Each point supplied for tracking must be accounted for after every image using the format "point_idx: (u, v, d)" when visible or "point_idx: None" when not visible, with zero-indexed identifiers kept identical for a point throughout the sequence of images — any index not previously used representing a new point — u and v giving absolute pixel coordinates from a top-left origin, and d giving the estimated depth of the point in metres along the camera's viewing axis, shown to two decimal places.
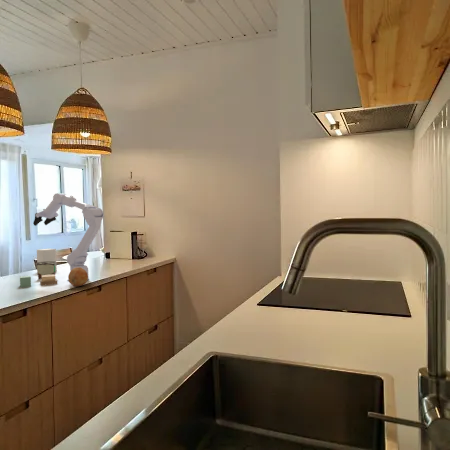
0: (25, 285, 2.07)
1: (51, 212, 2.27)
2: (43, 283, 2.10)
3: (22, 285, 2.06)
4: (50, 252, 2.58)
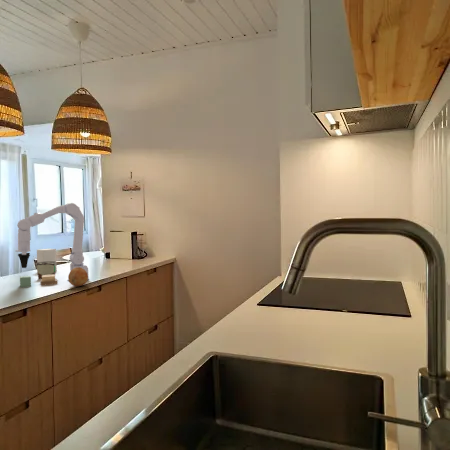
0: (25, 285, 2.07)
1: (28, 242, 2.09)
2: (43, 283, 2.10)
3: (22, 285, 2.06)
4: (50, 252, 2.58)
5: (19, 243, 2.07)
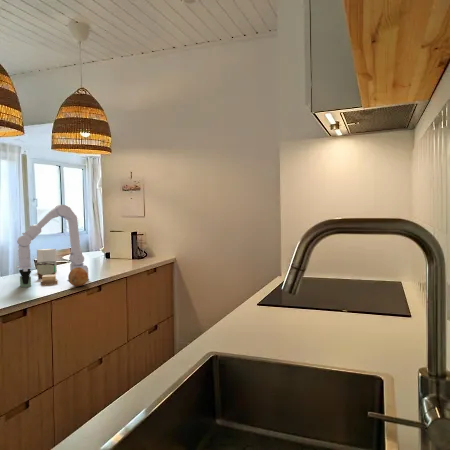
0: (25, 285, 2.07)
1: (29, 258, 2.09)
2: (43, 283, 2.10)
3: (22, 285, 2.06)
4: (50, 252, 2.58)
5: (20, 260, 2.06)
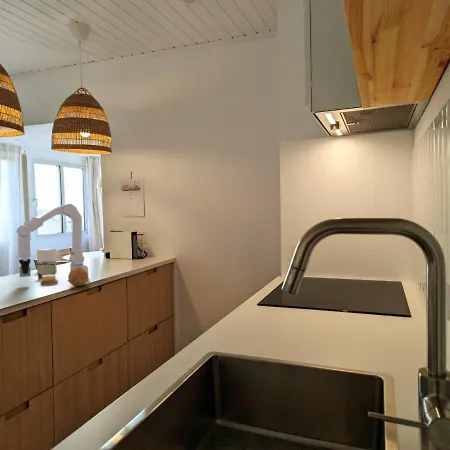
0: (25, 275, 2.07)
1: (29, 248, 2.08)
2: (43, 283, 2.10)
3: (22, 275, 2.06)
4: (50, 252, 2.58)
5: (19, 249, 2.06)
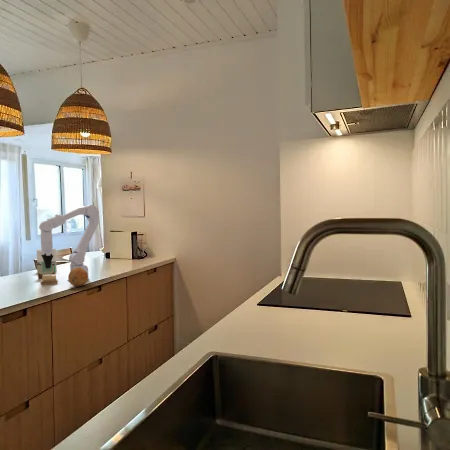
0: (47, 270, 2.12)
1: (51, 243, 2.14)
2: (43, 283, 2.10)
3: (44, 270, 2.11)
4: None
5: (42, 244, 2.11)
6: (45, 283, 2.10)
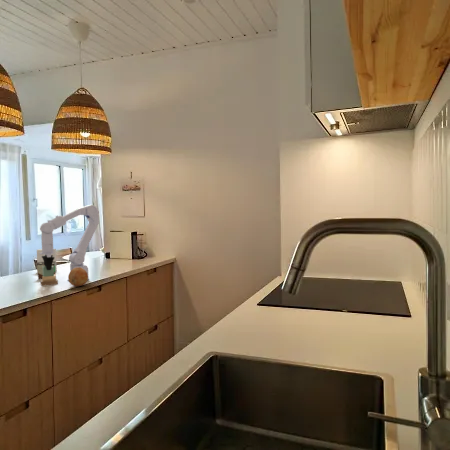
0: (48, 274, 2.13)
1: (52, 245, 2.14)
2: (43, 283, 2.10)
3: (45, 274, 2.12)
4: None
5: (43, 246, 2.12)
6: (45, 283, 2.10)
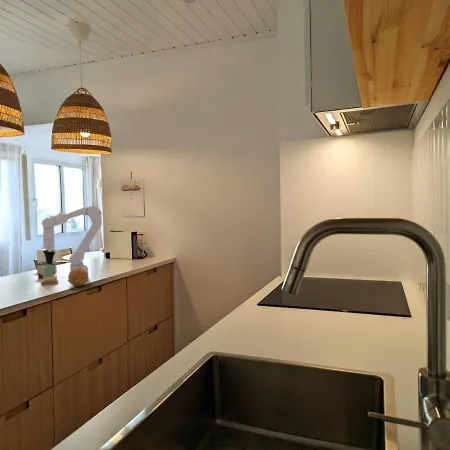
0: (48, 275, 2.12)
1: (53, 240, 2.20)
2: (44, 283, 2.10)
3: (45, 275, 2.11)
4: None
5: (44, 240, 2.18)
6: (45, 283, 2.10)
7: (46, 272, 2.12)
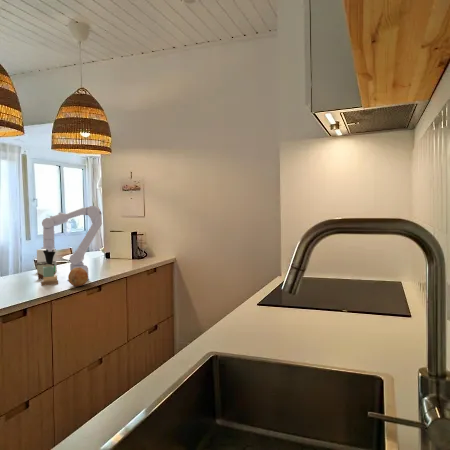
0: (48, 275, 2.12)
1: (53, 240, 2.20)
2: (44, 283, 2.10)
3: (46, 275, 2.11)
4: None
5: (44, 240, 2.18)
6: (46, 283, 2.10)
7: (46, 272, 2.12)
